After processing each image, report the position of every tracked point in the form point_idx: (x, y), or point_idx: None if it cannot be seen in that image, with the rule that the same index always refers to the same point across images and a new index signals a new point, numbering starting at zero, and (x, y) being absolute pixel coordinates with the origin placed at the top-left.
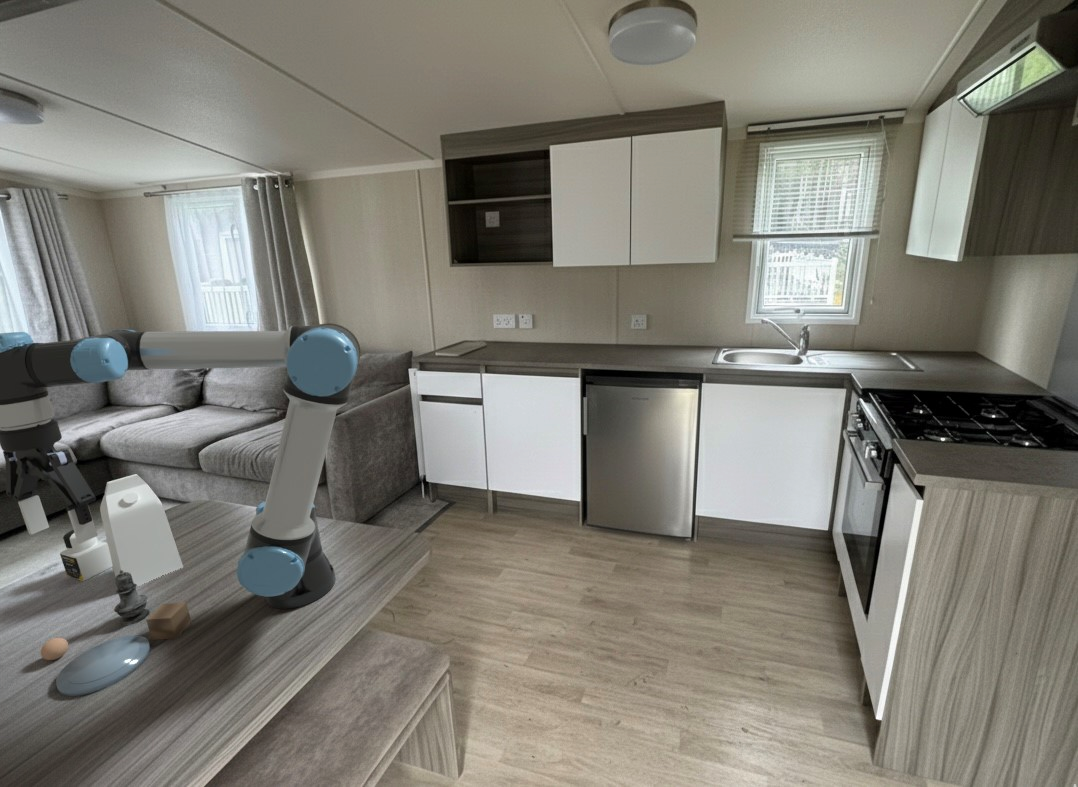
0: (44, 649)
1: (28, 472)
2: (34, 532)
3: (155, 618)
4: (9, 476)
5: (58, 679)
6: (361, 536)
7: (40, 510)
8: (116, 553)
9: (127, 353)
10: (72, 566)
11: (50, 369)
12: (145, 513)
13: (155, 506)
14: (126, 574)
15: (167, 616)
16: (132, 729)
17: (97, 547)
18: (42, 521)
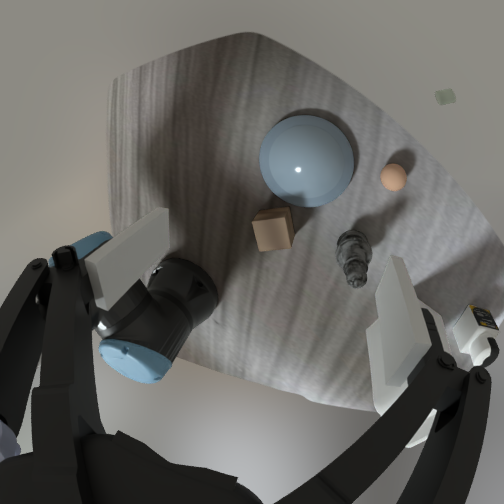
0: (396, 168)
1: (234, 499)
2: (388, 263)
3: (272, 220)
4: (454, 467)
5: (336, 130)
6: (193, 358)
7: (385, 333)
8: None
9: None
10: (482, 318)
11: None
12: (390, 390)
13: (380, 401)
14: (350, 282)
15: (259, 224)
16: (184, 94)
17: (466, 344)
18: (382, 302)
